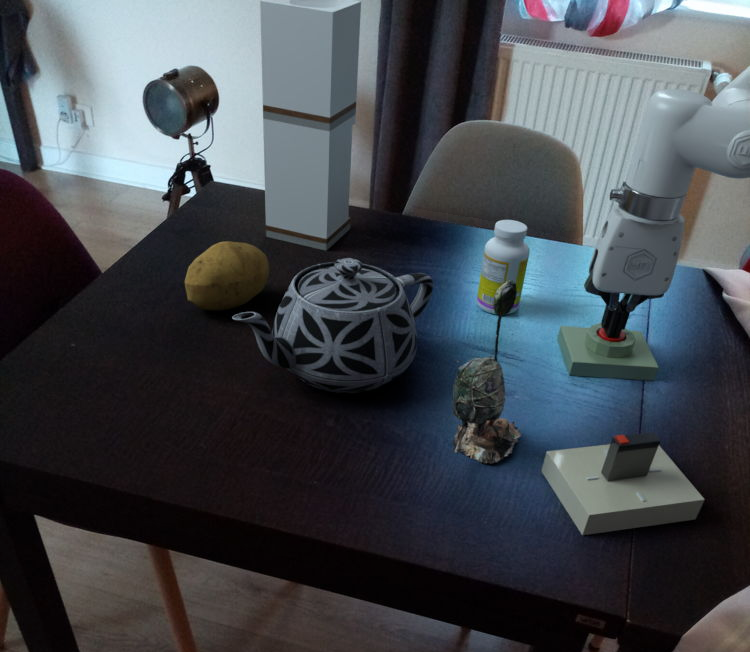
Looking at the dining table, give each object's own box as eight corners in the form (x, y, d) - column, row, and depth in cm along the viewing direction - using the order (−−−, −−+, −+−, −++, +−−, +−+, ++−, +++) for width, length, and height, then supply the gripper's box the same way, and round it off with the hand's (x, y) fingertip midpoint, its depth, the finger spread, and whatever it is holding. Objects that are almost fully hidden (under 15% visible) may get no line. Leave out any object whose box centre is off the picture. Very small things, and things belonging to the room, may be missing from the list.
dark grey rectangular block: (639, 467, 89) (654, 430, 85) (647, 476, 88) (661, 438, 84) (600, 472, 87) (613, 434, 84) (607, 481, 86) (620, 443, 83)
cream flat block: (646, 458, 95) (654, 437, 93) (695, 519, 87) (705, 498, 85) (541, 471, 92) (546, 450, 90) (582, 535, 84) (589, 514, 82)
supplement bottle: (510, 295, 125) (526, 216, 117) (523, 316, 120) (541, 235, 112) (470, 296, 124) (483, 216, 115) (482, 317, 119) (496, 235, 111)
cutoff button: (618, 338, 112) (621, 327, 111) (624, 351, 109) (627, 340, 108) (593, 336, 112) (596, 325, 111) (598, 349, 109) (602, 338, 108)
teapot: (201, 368, 103) (191, 260, 93) (383, 311, 118) (391, 213, 108) (278, 442, 93) (276, 329, 83) (468, 369, 108) (485, 266, 98)
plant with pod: (422, 441, 95) (443, 289, 81) (491, 413, 100) (521, 266, 87) (467, 478, 90) (496, 322, 77) (536, 447, 95) (575, 296, 82)
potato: (166, 240, 110) (198, 259, 105) (247, 227, 117) (282, 244, 112) (172, 305, 116) (204, 326, 110) (250, 288, 123) (283, 307, 117)
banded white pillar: (350, 228, 141) (361, 1, 117) (326, 250, 133) (332, 12, 110) (292, 215, 143) (292, -9, 120) (266, 236, 136) (260, 0, 112)
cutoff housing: (636, 344, 116) (644, 319, 114) (654, 380, 109) (663, 356, 106) (557, 338, 116) (563, 314, 113) (569, 375, 108) (575, 350, 106)
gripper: (598, 209, 94) (562, 342, 106) (719, 218, 95) (670, 350, 107) (586, 186, 100) (553, 315, 112) (700, 195, 100) (656, 323, 113)
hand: (610, 332), depth 109 cm, fingers closed
